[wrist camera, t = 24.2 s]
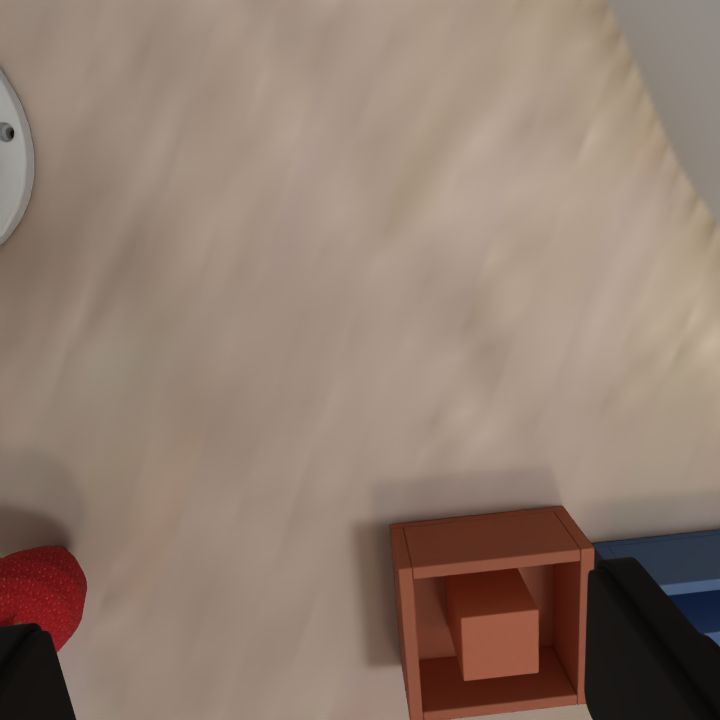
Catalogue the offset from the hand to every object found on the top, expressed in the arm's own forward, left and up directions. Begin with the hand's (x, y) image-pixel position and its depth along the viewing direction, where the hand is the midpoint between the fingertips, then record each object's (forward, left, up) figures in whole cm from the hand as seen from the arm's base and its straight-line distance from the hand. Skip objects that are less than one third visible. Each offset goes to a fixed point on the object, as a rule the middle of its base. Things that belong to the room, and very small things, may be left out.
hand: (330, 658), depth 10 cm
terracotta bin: (+8, -18, -23) cm, 30 cm away
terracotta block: (+8, -18, -23) cm, 30 cm away
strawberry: (-18, -12, -23) cm, 32 cm away
